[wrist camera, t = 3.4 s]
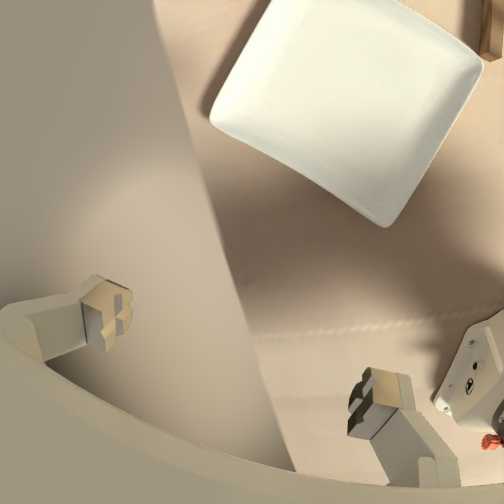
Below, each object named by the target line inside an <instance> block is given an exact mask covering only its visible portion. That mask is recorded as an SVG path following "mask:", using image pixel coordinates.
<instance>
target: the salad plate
mask: <svg viewBox="0 0 504 504" xmlns="http://www.w3.org/2000/svg"><path fill="white" fill-rule="evenodd" d="M483 69H484V63H483V61H482V59H481V58H480V57H479V56H478V55H477V54H476V53H475V52H474V51H473V50H471V49H470V48H469V47H468V46H467V45H465V44H464V43H463V42H462V41H460V40H459V39H458V38H456V37H455V36H453V35H452V34H451V33H449V32H448V31H446V30H445V29H443V28H442V27H440V26H439V25H437V24H436V23H434V22H433V21H431V20H430V19H428V18H426V17H425V16H423V15H421V14H420V13H418V12H416V11H415V10H413V9H411V8H410V7H408V6H406V5H404V4H402V3H401V2H399V1H397V0H271V1H270V3H269V5H268V6H267V8H266V10H265V11H264V13H263V15H262V17H261V18H260V20H259V22H258V24H257V25H256V27H255V29H254V31H253V32H252V34H251V36H250V38H249V40H248V41H247V43H246V45H245V47H244V48H243V50H242V52H241V53H240V55H239V57H238V59H237V60H236V62H235V64H234V66H233V68H232V69H231V71H230V73H229V75H228V77H227V78H226V80H225V82H224V84H223V86H222V88H221V90H220V91H219V93H218V95H217V97H216V99H215V101H214V103H213V106H212V108H211V111H210V115H209V122H210V124H211V125H212V126H213V127H214V128H216V129H217V130H219V131H221V132H223V133H225V134H226V135H228V136H230V137H232V138H234V139H236V140H238V141H240V142H242V143H244V144H246V145H248V146H250V147H252V148H254V149H256V150H258V151H260V152H262V153H264V154H266V155H268V156H270V157H272V158H273V159H275V160H277V161H279V162H281V163H283V164H285V165H286V166H288V167H290V168H291V169H293V170H295V171H297V172H298V173H300V174H302V175H303V176H305V177H307V178H308V179H310V180H311V181H313V182H314V183H316V184H317V185H319V186H321V187H322V188H324V189H325V190H327V191H328V192H330V193H331V194H333V195H334V196H336V197H337V198H339V199H340V200H342V201H343V202H344V203H346V204H347V205H349V206H350V207H351V208H353V209H355V210H356V211H357V212H359V213H360V214H362V215H363V216H365V217H366V218H367V219H369V220H370V221H372V222H373V223H375V224H377V225H378V226H381V227H383V228H387V227H389V226H391V225H392V224H393V223H394V221H395V220H396V219H397V217H398V216H399V214H400V213H401V211H402V210H403V208H404V207H405V205H406V204H407V202H408V201H409V199H410V197H411V196H412V194H413V192H414V191H415V189H416V188H417V186H418V184H419V183H420V181H421V179H422V178H423V176H424V174H425V172H426V171H427V169H428V167H429V166H430V164H431V162H432V161H433V159H434V157H435V156H436V154H437V152H438V150H439V149H440V147H441V145H442V144H443V142H444V140H445V138H446V137H447V135H448V133H449V131H450V130H451V128H452V126H453V124H454V123H455V121H456V119H457V118H458V116H459V114H460V113H461V111H462V109H463V108H464V106H465V105H466V103H467V101H468V100H469V98H470V96H471V94H472V93H473V91H474V89H475V87H476V85H477V83H478V81H479V79H480V77H481V75H482V72H483Z"/></svg>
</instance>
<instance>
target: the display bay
mask: <svg viewBox="0 0 504 504" xmlns="http://www.w3.org/2000/svg"><path fill="white" fill-rule="evenodd" d="M503 31H504V0H483V6H482V25H481V37H480V48H479V57H481V58H483V59H485V60H487V61H489V62H491V61H494V60H497V59H500V58H502V46H503Z"/></svg>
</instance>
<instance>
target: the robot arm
mask: <svg viewBox="0 0 504 504" xmlns="http://www.w3.org/2000/svg"><path fill="white" fill-rule="evenodd" d="M131 301H132V291H131V290H130V289H128V288H126V287H123V286H121V285H119V284H117V283H114V282H112V281H110V280H107V279H105V278H103V277H101V276H98V275H93V276H91V277H90V278H89V279H87V280H86V281H84V283H82V284H81V285H79V286H78V287H77V288H75V289H74V290H73V291H71V292H70V293H69V294H67V295H66V294H59V295H54V296H49V297H44V298H39V299H34V300H28V301H23V302H18V303H13V304H8V305H7V306H6V307H5V308H3V309H2V310H0V504H504V483H498V484H490V485H480V486H467V487H461V480H460V473H459V467H458V460H457V457H456V456H455V455H454V453H453V452H452V451H451V450H450V448H449V447H448V446H447V445H446V443H445V442H444V441H443V440H442V438H441V437H440V436H439V435H438V433H437V432H436V431H435V430H434V428H433V427H432V426H431V425H430V424H429V422H428V421H427V420H426V419H425V417H424V416H423V415H422V414H421V413H420V412H417V411H416V406H415V400H414V395H413V389H412V384H411V379H410V377H409V375H405V374H400V373H393V372H389V371H384V370H380V369H375V368H371V367H368V368H367V369H366V370H365V371H364V373H363V374H362V381H361V382H359V383H357V384H356V385H355V387H354V389H353V390H352V393H351V395H350V398H349V403H348V410H349V412H350V413H351V416H350V418H349V419H348V427H347V436H350V437H355V438H360V439H365V440H370V443H371V445H372V447H373V449H374V451H375V453H376V455H377V457H378V459H379V461H380V463H381V465H382V467H383V469H384V471H385V473H386V475H387V477H388V479H389V480H390V483H388V484H387V485H386V486H381V485H370V484H361V483H353V482H345V481H338V480H332V479H326V478H320V477H315V476H310V475H305V474H300V473H295V472H291V471H286V470H282V469H278V468H274V467H270V466H266V465H262V464H259V463H255V462H251V461H248V460H244V459H241V458H238V457H235V456H231V455H228V454H225V453H222V452H219V451H216V450H213V449H211V448H208V447H205V446H202V445H199V444H197V443H194V442H192V441H189V440H186V439H184V438H181V437H179V436H176V435H174V434H171V433H169V432H167V431H164V430H162V429H159V428H158V427H155V426H153V425H151V424H149V423H147V422H144V421H142V420H140V419H138V418H136V417H134V416H132V415H130V414H128V413H126V412H124V411H122V410H120V409H118V408H116V407H114V406H112V405H110V404H108V403H107V402H105V401H103V400H101V399H99V398H97V397H96V396H94V395H92V394H90V393H89V392H87V391H85V390H84V389H82V388H80V387H78V386H77V385H75V384H73V383H72V382H70V381H69V380H67V379H65V378H64V377H62V376H61V375H59V374H58V373H56V372H54V371H53V370H51V369H50V368H48V367H47V366H46V365H45V362H44V361H46V360H49V359H52V358H54V357H57V356H59V355H62V354H65V353H67V352H70V351H72V350H75V349H77V348H80V347H82V346H85V345H87V344H89V345H91V346H93V347H95V348H97V349H99V350H101V351H103V352H105V353H107V352H108V351H109V350H110V348H111V347H112V346H113V345H114V344H115V343H116V336H119V335H122V334H124V333H125V332H126V330H127V329H128V327H129V325H130V323H131V320H132V309H131V307H130V305H129V303H130V302H131ZM471 340H472V341H471ZM470 341H471V342H470ZM433 403H434V406H435V407H436V408H437V409H438V410H439V411H440V412H442V413H444V414H446V415H449V416H453V418H454V420H455V421H456V423H457V424H458V425H459V426H461V427H462V428H465V429H468V430H472V431H482V432H496V433H497V434H498V435H491V434H487V435H485V436H484V438H483V440H482V443H481V444H482V446H481V447H483V448H482V449H484V450H488V449H491V450H494V449H496V448H497V447H498V446H499V445H502V447H504V309H503V310H501V311H500V312H498V313H497V314H496V315H494V316H493V317H492V318H490V319H488V320H486V321H482V322H479V323H476V324H474V325H472V326H470V327H469V328H468V329H467V331H466V333H465V335H464V338H463V340H462V342H461V345H460V347H459V349H458V351H457V354H456V356H455V358H454V360H453V362H452V365H451V367H450V369H449V371H448V373H447V375H446V377H445V379H444V381H443V383H442V385H441V387H440V389H439V391H438V393H437V394H436V396H435V398H434V401H433Z"/></svg>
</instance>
